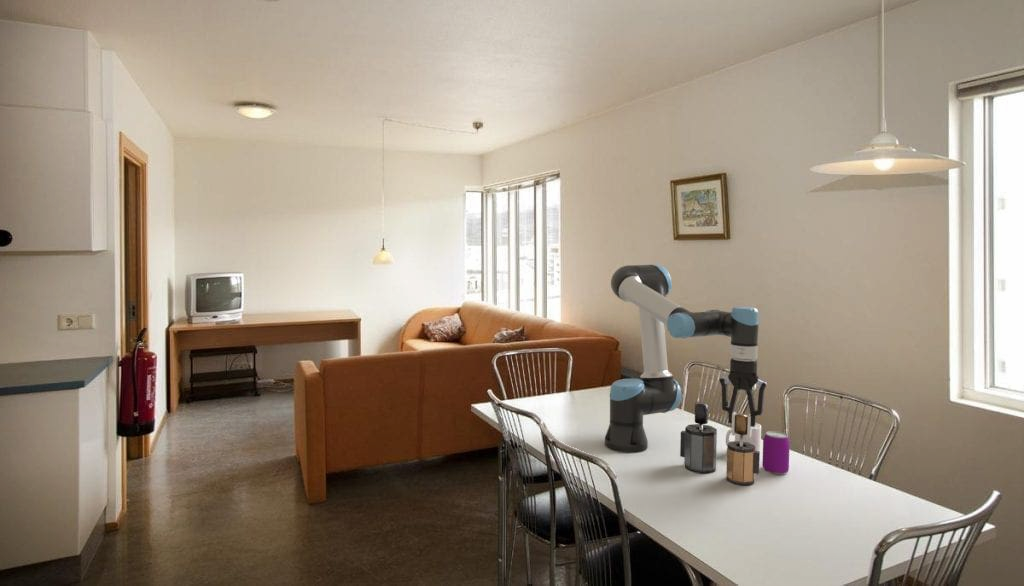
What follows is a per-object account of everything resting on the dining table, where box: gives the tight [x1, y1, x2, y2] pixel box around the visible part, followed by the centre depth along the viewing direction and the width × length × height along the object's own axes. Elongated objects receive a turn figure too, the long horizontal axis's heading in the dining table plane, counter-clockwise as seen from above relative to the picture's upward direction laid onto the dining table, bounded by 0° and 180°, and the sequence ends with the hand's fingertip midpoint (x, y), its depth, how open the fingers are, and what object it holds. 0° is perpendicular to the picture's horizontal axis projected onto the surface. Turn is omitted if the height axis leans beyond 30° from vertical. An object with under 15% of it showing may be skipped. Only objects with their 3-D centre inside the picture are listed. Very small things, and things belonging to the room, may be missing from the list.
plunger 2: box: [735, 412, 749, 447], centre depth 180 cm, size 5×5×18 cm
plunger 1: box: [694, 401, 709, 430], centre depth 190 cm, size 7×7×18 cm
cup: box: [725, 422, 762, 453], centre depth 204 cm, size 8×12×10 cm
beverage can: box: [761, 430, 791, 476], centre depth 188 cm, size 8×8×12 cm
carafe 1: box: [679, 423, 718, 475], centre depth 191 cm, size 11×10×13 cm
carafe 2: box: [725, 440, 761, 487], centre depth 180 cm, size 9×8×11 cm
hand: (741, 435), depth 180 cm, fingers closed on plunger 2, 4 cm apart
